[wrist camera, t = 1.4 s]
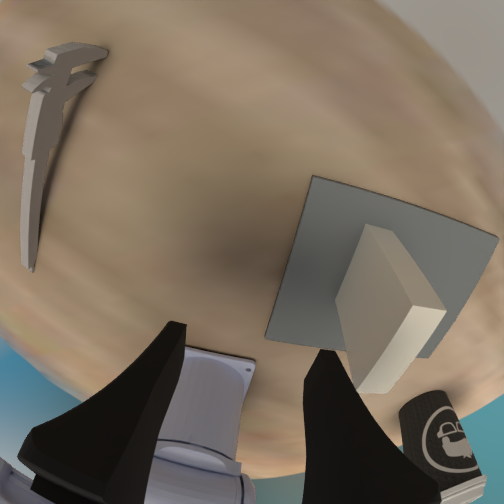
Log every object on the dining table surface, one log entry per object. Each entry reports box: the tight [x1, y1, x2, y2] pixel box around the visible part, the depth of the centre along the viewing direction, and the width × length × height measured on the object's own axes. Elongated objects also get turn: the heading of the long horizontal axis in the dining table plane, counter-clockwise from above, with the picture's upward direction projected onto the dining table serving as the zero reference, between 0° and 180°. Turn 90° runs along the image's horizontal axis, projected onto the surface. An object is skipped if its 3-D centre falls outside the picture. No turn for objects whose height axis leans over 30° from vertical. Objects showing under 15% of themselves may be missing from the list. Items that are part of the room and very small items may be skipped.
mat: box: [265, 175, 499, 358], centre depth 20 cm, size 13×16×1 cm
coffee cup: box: [399, 390, 486, 504], centre depth 22 cm, size 10×10×15 cm
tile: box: [335, 224, 447, 394], centre depth 16 cm, size 6×2×8 cm, turn 169°
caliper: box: [20, 42, 108, 273], centre depth 15 cm, size 20×1×6 cm, turn 145°
